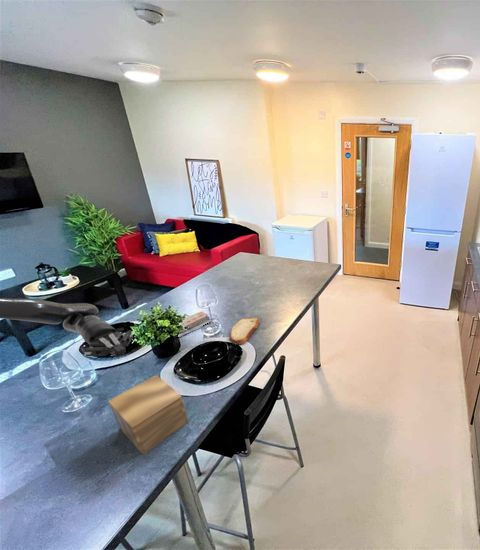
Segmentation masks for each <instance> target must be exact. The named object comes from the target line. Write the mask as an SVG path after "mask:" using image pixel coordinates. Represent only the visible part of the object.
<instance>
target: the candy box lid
mask: <svg viewBox="0 0 480 550" xmlns="http://www.w3.org/2000/svg"><path fill="white" fill-rule="evenodd" d="M180 399H182V400H183V395H181V394H180V393H179V392H178V391H177V390H175V389H174V388H173V387H172V386H170V384H168V383H167V382H166V381H165V380H163V379H162V378H161V377H160V376H159V375H157V374H155V375H154V376H152V377H150V378H147V379H146V380H144V381H142V382H140V383H138V384H137V385H134V386H132V387H131V388H129V389H127V390H125V391H123V392H122V393H119V394H118V395H116V396H114V397H113V398H110V399H108V400H107V402H108V405H109V404H110V405H111V406H112V407H113V408H114V409H115V410H116V411H117V412H118V414H119V415H120V416H121V417H122V418H123V419H124V420H125V421H126V422H127V423H128V425H129V426H130V427H131V428H132V429H135V428H136V427H138V426H139V425H141V424H142V423H144V422H146V421H147V420H149V419H150V418H152V417H153V416H155V415H157V414H158V413H160V412H161V411H163V410H164V409H166V408H168V407H169V406H171V405H172V404H174V403H175V402H177V401H179V400H180ZM110 405H109V406H110Z"/></svg>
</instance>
